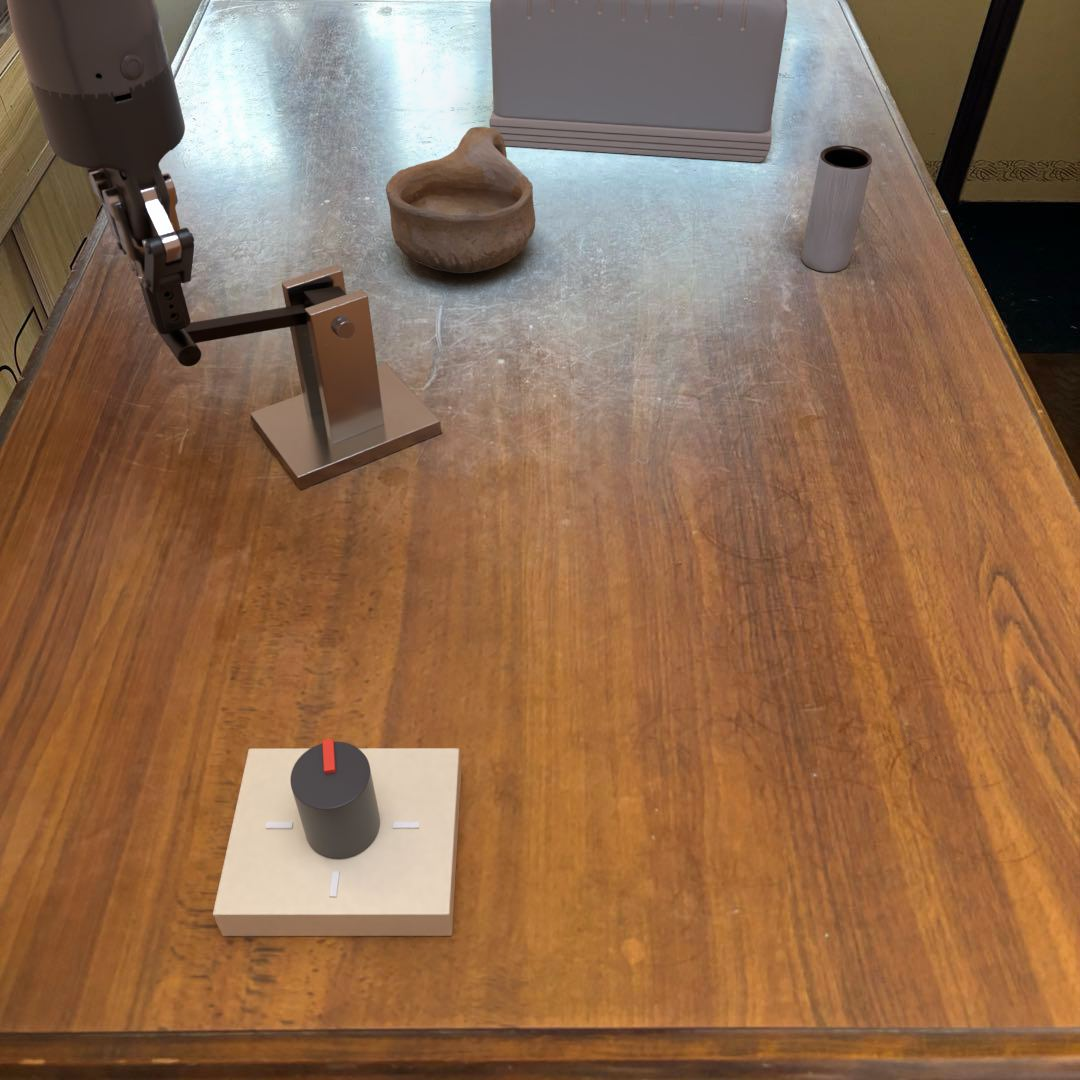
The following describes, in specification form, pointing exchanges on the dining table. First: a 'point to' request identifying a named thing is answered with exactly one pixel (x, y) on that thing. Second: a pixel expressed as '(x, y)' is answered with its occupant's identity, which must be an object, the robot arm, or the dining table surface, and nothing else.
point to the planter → (835, 207)
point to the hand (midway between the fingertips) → (172, 325)
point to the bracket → (339, 391)
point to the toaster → (637, 75)
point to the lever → (242, 325)
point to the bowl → (463, 207)
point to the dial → (336, 799)
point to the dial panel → (353, 883)
